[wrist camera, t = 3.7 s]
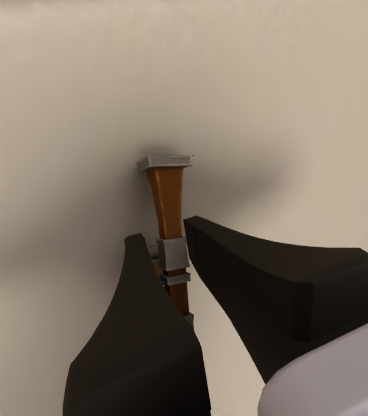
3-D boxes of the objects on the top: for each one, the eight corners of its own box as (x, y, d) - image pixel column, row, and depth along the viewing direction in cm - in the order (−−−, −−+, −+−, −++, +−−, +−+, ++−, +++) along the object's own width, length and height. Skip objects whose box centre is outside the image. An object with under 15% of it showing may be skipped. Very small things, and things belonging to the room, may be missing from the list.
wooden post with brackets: (137, 332, 14) (168, 381, 10) (123, 171, 14) (149, 154, 10) (171, 323, 15) (213, 366, 11) (157, 170, 15) (195, 153, 11)
